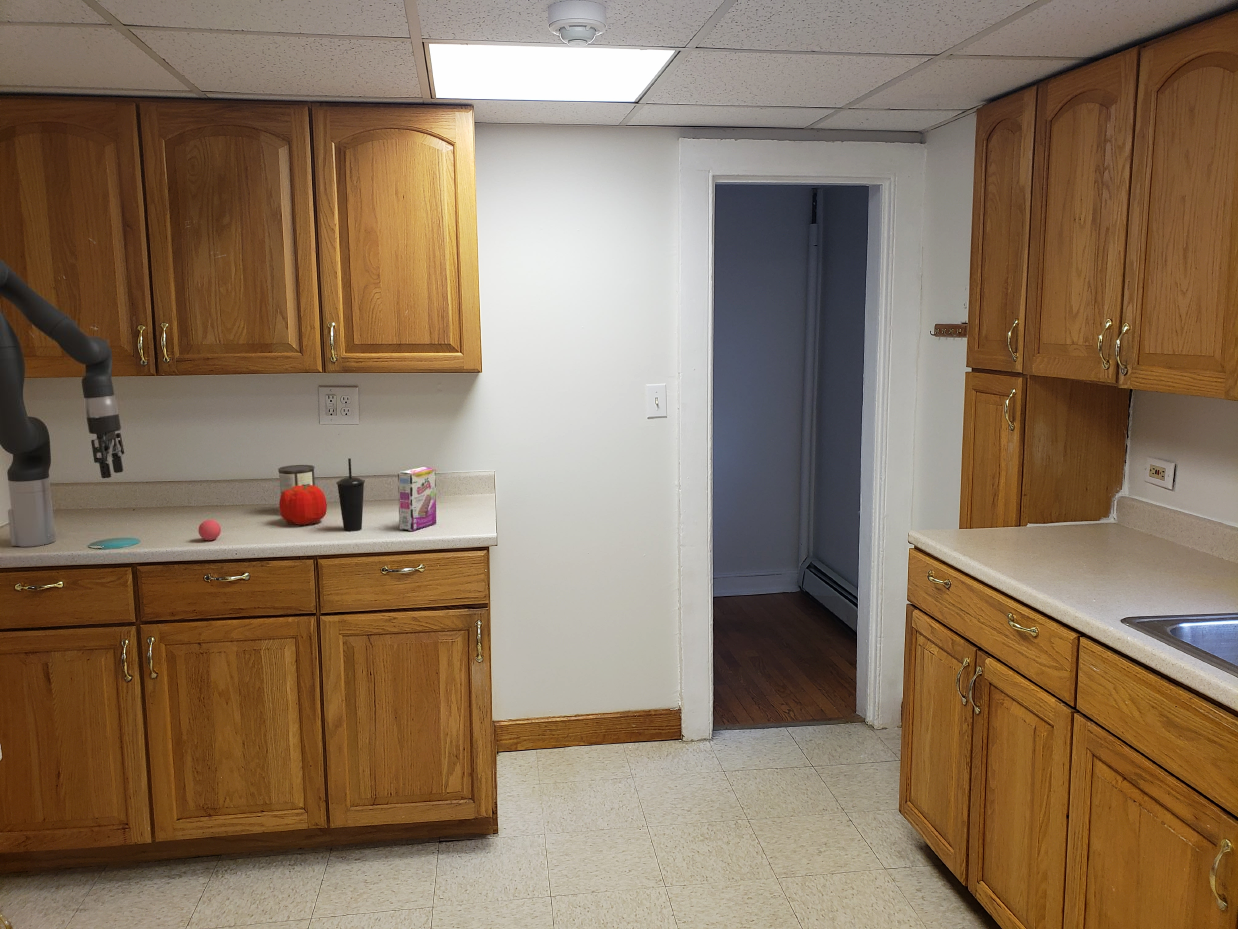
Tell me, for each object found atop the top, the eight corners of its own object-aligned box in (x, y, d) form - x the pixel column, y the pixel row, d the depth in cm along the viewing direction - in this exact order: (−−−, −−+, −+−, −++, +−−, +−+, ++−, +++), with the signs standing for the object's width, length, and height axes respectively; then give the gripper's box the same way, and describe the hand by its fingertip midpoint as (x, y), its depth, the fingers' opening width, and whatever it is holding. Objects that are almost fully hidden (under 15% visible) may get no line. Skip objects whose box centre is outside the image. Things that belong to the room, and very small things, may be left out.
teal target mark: (80, 550, 243) (80, 549, 243) (99, 539, 254) (99, 538, 254) (130, 548, 244) (130, 547, 244) (146, 537, 256) (146, 536, 256)
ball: (196, 543, 250) (195, 522, 249) (202, 538, 255) (201, 518, 254) (218, 542, 250) (217, 521, 249) (224, 537, 256) (222, 517, 255)
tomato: (287, 518, 280) (285, 483, 278) (333, 517, 280) (331, 482, 279) (273, 528, 266) (271, 491, 264) (321, 527, 267) (319, 491, 265)
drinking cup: (365, 531, 261) (362, 460, 258) (337, 533, 260) (333, 461, 257) (368, 525, 269) (365, 456, 266) (340, 527, 268) (336, 456, 264)
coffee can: (294, 509, 293) (291, 464, 290) (323, 510, 290) (321, 465, 288) (273, 516, 283) (270, 469, 281) (304, 517, 280) (301, 470, 278)
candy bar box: (413, 532, 261) (411, 473, 258) (398, 530, 263) (396, 472, 261) (438, 524, 271) (436, 467, 268) (423, 522, 273) (421, 466, 271)
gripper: (97, 412, 254) (108, 472, 256) (75, 418, 240) (86, 481, 242) (127, 410, 255) (137, 469, 257) (107, 415, 241) (117, 478, 243)
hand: (112, 475), depth 250 cm, fingers open, 8 cm apart
